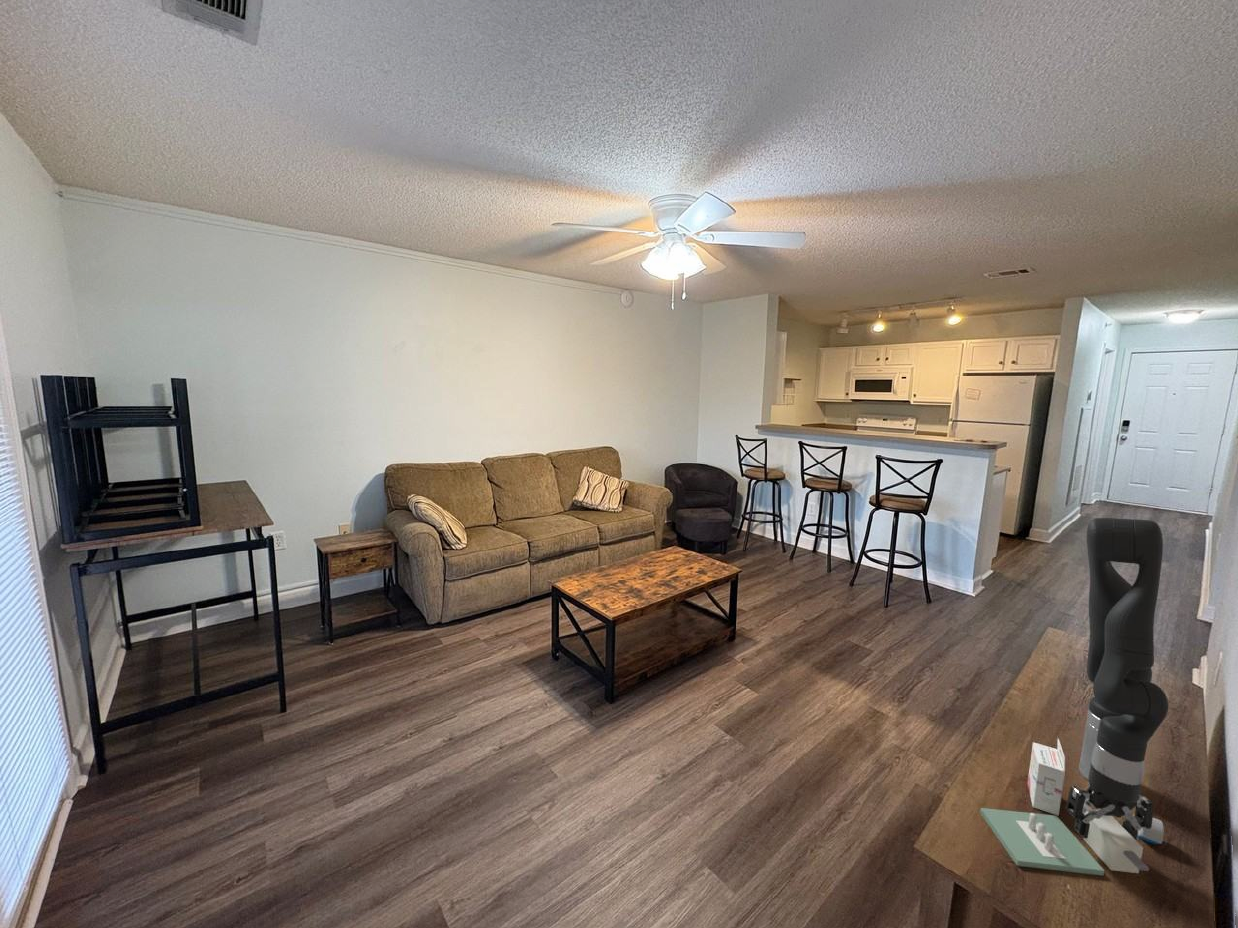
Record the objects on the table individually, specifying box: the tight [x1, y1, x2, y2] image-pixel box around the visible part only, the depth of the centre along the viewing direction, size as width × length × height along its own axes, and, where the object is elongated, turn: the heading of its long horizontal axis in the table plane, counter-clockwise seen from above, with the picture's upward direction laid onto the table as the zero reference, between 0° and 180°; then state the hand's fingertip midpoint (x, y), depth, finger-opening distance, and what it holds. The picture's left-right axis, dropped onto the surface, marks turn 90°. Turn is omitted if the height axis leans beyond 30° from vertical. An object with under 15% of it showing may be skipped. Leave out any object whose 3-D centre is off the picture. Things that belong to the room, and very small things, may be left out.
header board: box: [979, 807, 1105, 876], centre depth 106 cm, size 16×13×5 cm
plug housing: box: [1077, 808, 1150, 874], centre depth 102 cm, size 5×12×6 cm, turn 173°
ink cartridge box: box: [1026, 738, 1066, 816], centre depth 117 cm, size 9×5×15 cm, turn 148°
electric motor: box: [1133, 814, 1165, 846], centre depth 108 cm, size 7×5×5 cm
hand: (1103, 837), depth 104 cm, fingers open, 8 cm apart
